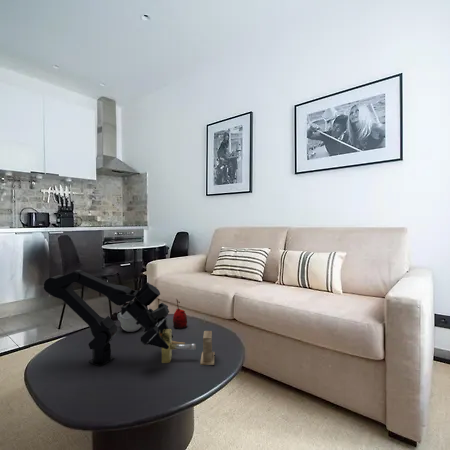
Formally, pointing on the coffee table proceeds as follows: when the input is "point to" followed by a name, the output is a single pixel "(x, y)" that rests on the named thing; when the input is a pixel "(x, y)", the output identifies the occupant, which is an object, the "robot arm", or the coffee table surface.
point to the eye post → (207, 349)
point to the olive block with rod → (172, 346)
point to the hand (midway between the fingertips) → (170, 342)
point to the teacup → (128, 322)
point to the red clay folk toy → (179, 318)
